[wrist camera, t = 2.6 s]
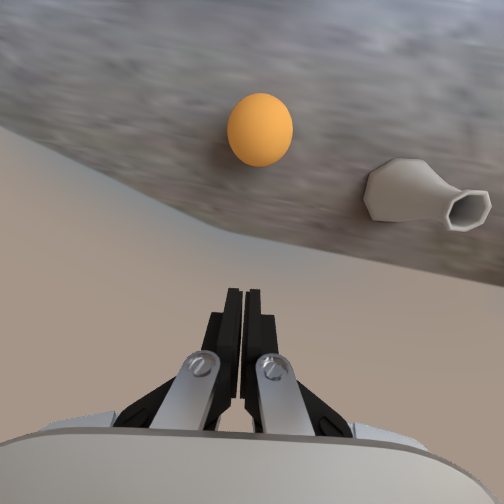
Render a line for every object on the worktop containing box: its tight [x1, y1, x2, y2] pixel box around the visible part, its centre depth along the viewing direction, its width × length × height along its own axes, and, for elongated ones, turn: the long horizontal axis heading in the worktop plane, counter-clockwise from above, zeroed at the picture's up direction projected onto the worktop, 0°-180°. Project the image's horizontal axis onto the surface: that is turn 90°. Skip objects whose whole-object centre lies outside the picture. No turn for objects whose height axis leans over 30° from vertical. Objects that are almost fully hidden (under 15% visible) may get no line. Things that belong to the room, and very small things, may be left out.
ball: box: [227, 93, 293, 167], centre depth 22 cm, size 6×6×6 cm
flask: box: [363, 158, 492, 232], centre depth 22 cm, size 7×7×10 cm
